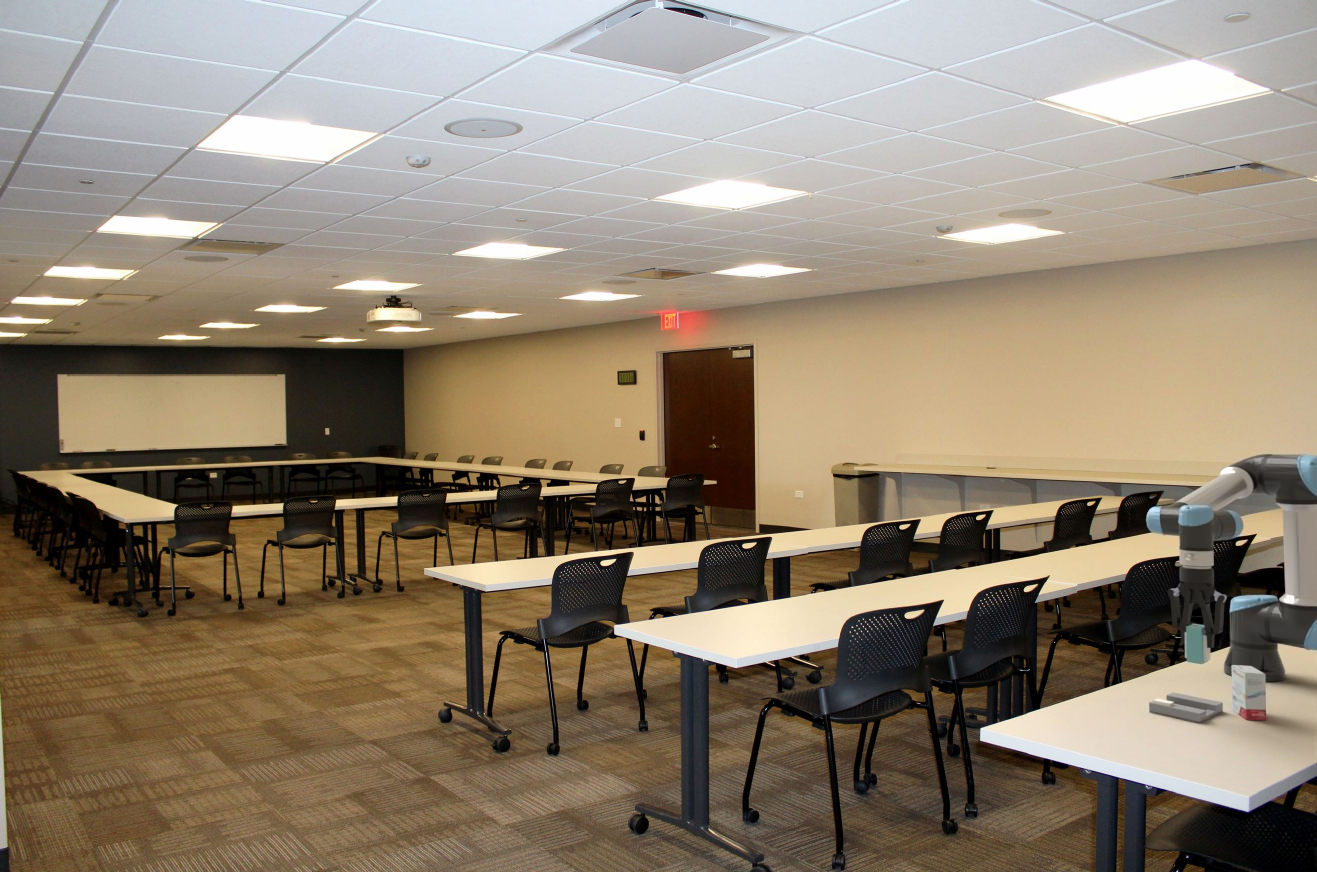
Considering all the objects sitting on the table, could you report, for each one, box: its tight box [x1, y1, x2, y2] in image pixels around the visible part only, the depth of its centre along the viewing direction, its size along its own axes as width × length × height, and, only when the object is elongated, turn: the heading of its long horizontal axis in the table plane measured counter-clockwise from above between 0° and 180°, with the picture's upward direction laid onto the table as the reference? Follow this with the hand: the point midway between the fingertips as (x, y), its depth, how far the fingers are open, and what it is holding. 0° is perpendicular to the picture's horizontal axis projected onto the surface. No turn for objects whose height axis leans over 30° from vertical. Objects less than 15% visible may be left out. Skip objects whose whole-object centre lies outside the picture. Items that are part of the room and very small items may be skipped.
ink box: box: [1231, 665, 1267, 721], centre depth 234 cm, size 9×5×12 cm, turn 168°
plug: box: [1186, 623, 1210, 665], centre depth 235 cm, size 4×4×9 cm
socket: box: [1148, 691, 1224, 724], centre depth 237 cm, size 14×12×3 cm
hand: (1197, 658), depth 235 cm, fingers closed on plug, 3 cm apart
